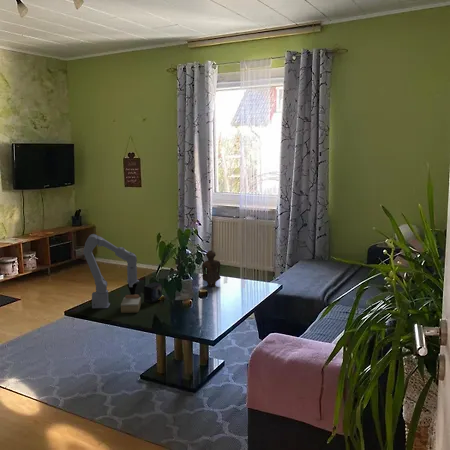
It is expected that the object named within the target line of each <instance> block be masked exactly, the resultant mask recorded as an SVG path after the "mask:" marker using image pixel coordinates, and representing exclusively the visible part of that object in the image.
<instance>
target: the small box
mask: <svg viewBox="0 0 450 450" xmlns="http://www.w3.org/2000/svg"><path fill="white" fill-rule="evenodd" d="M162 285H163V284H162V283H159V282H156V281H154V282H151V283H149V284H146V285H143V302H144V303H147V304H149V305H150V304H154V303H157V302H159V301H158V299H159V298H160V297H161V296H162V297H163V286H162Z"/></svg>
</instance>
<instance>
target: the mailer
mask: <svg viewBox="0 0 450 450" xmlns="http://www.w3.org/2000/svg"><path fill="white" fill-rule="evenodd" d="M141 307H142V298H141V299H140V302H139V305H138V306H121V305H120V313H121V314H124V313H125V314H126V313H129V314H130V313H131V314H133V313H135V314H136V313H137V314H138V313H139V312H140V309H141Z"/></svg>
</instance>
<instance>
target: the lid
mask: <svg viewBox="0 0 450 450" xmlns="http://www.w3.org/2000/svg"><path fill="white" fill-rule="evenodd" d="M140 299H141V300H142V297H141V296H140V294H135V295H131V294H125V297H123V299H122V301H121V303H120V307H121V306H138V305H139V302H140Z"/></svg>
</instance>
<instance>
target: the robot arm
mask: <svg viewBox="0 0 450 450" xmlns="http://www.w3.org/2000/svg"><path fill="white" fill-rule="evenodd" d="M96 247H98V248H99V247H103V248H107V249H108V250H110V251H112V252H113V253H115V256H116V257H118V258H120V259H122V260H123V261H126V263H127V266H126V270H127V271H126V272H127V273H126V274H127V279H126V283H127V288H128V289H129V293H130V294H129V295H136V288H137V287H138V283H139V282H140V280H139V279H138V267H137V261H138V259H137V258H138V257H137V255H136V254H135V253H134V252H132V251H129V250H126V248H125V247H124V246H119V247H117V246H116V245H114V244H113V243H112V242H110V241H108V240H106V238H104V237H102V236H100V235H97V234H96V233H92V234H90V235H88V237H87V239H86V241H85V243H84V248H83V251H82V253H83V256H84V258H85V260H86V262H87V265H88V267H89V269H90V273H91V275H92V277H93V279H94V284H95V291H93V292H92V294H91V309H108V308H109V307H110V305H111V302H109V290H108V289H107V287H108V281H107V280H106V279H105V278H104V276H103V275H102V273H101V269H100V267H99V265H98V263H97V260H96V258H95V255H94V254H93V253H94V252H93V251H94V249H95V248H96Z"/></svg>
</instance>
